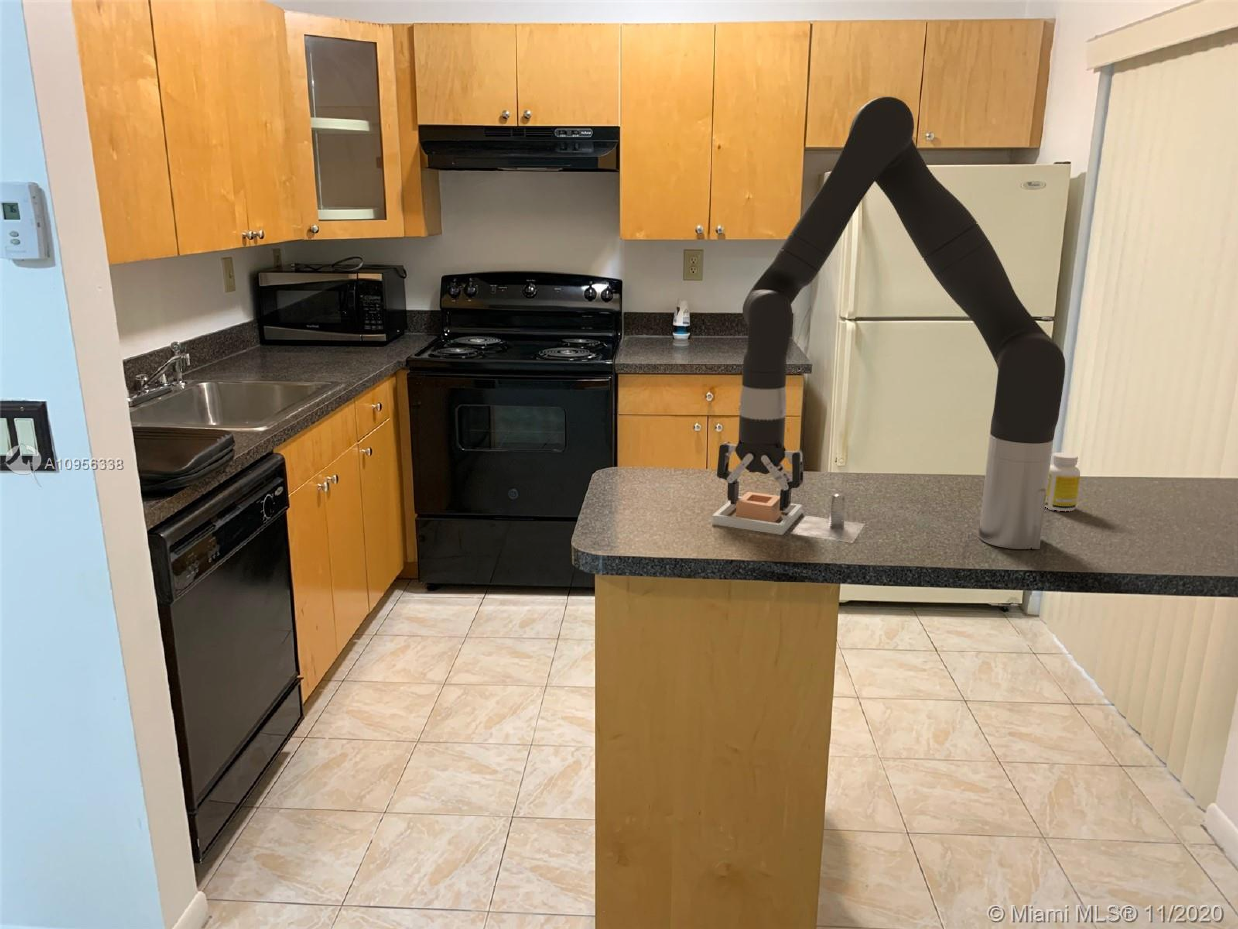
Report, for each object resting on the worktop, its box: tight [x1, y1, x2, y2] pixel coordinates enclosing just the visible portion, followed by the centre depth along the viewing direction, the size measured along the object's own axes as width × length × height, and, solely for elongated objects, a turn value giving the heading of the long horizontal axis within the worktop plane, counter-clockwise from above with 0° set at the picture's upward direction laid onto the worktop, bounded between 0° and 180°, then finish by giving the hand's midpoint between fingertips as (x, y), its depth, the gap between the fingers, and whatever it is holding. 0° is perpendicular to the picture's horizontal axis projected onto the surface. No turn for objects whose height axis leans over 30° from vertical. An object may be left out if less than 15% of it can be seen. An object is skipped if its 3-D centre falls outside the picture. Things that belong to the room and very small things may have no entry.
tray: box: [711, 496, 803, 536], centre depth 156 cm, size 12×12×2 cm
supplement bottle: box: [1045, 452, 1081, 513], centre depth 164 cm, size 5×5×10 cm
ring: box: [735, 491, 782, 523], centre depth 156 cm, size 6×6×4 cm
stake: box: [790, 492, 866, 544], centre depth 151 cm, size 10×10×6 cm
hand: (758, 506), depth 156 cm, fingers open, 8 cm apart
